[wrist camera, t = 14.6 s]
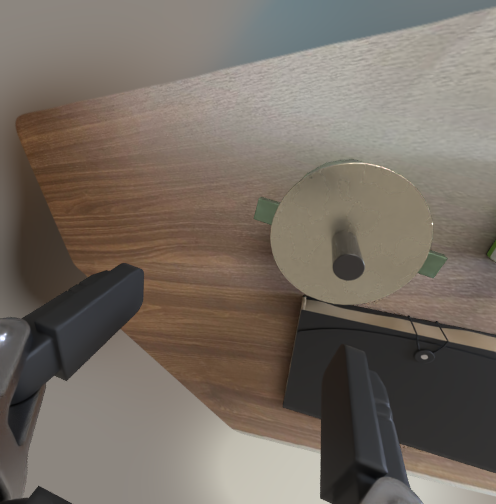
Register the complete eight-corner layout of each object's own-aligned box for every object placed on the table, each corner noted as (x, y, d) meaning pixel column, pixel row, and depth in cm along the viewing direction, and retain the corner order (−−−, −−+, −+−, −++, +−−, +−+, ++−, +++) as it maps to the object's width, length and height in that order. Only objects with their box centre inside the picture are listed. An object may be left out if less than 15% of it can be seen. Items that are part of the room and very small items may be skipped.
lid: (297, 142, 23) (287, 144, 17) (465, 189, 21) (518, 209, 15) (257, 272, 30) (241, 305, 24) (381, 317, 28) (396, 364, 22)
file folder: (600, 375, 28) (493, 480, 39) (569, 347, 31) (479, 450, 42) (300, 310, 35) (281, 413, 46) (303, 293, 39) (284, 393, 50)
